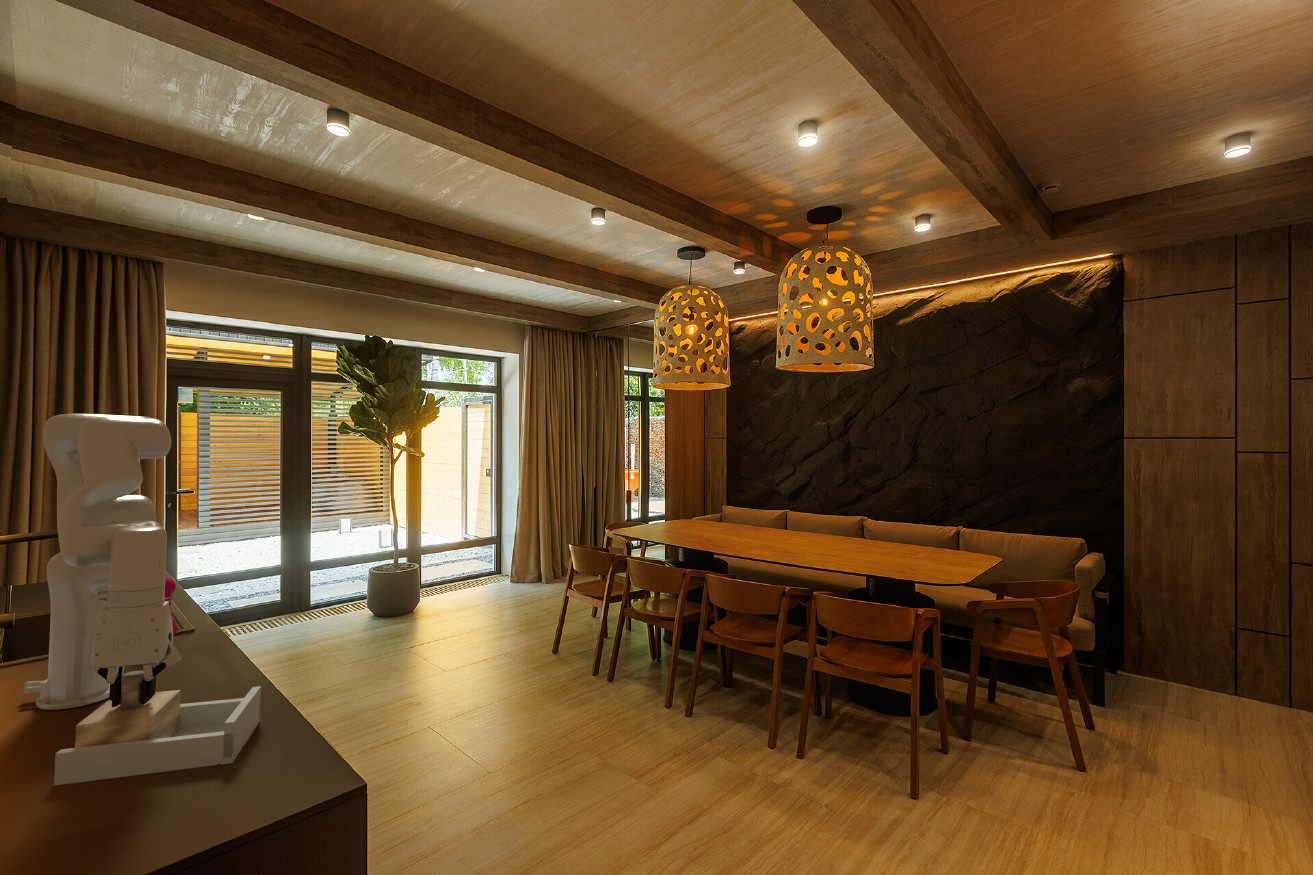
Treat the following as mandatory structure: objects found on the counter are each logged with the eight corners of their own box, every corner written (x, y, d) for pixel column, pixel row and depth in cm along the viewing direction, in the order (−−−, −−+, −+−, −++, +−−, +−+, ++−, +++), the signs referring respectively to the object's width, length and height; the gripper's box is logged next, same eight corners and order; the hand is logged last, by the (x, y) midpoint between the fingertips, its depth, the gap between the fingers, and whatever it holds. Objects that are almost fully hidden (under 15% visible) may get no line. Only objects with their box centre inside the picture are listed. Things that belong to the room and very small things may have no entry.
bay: (54, 785, 95) (56, 740, 95) (107, 738, 110) (109, 699, 110) (232, 762, 103) (234, 721, 103) (259, 721, 118) (261, 686, 118)
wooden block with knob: (74, 768, 97) (77, 690, 97) (112, 734, 108) (115, 664, 109) (149, 759, 100) (152, 684, 101) (179, 727, 112) (182, 659, 112)
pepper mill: (155, 653, 153) (159, 575, 153) (133, 651, 154) (136, 573, 155) (183, 644, 160) (186, 569, 160) (161, 642, 161) (164, 568, 162)
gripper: (64, 605, 99) (59, 717, 98) (184, 599, 104) (180, 705, 104) (90, 594, 106) (85, 699, 105) (201, 589, 111) (197, 689, 111)
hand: (132, 701), depth 105 cm, fingers closed on wooden block with knob, 3 cm apart
